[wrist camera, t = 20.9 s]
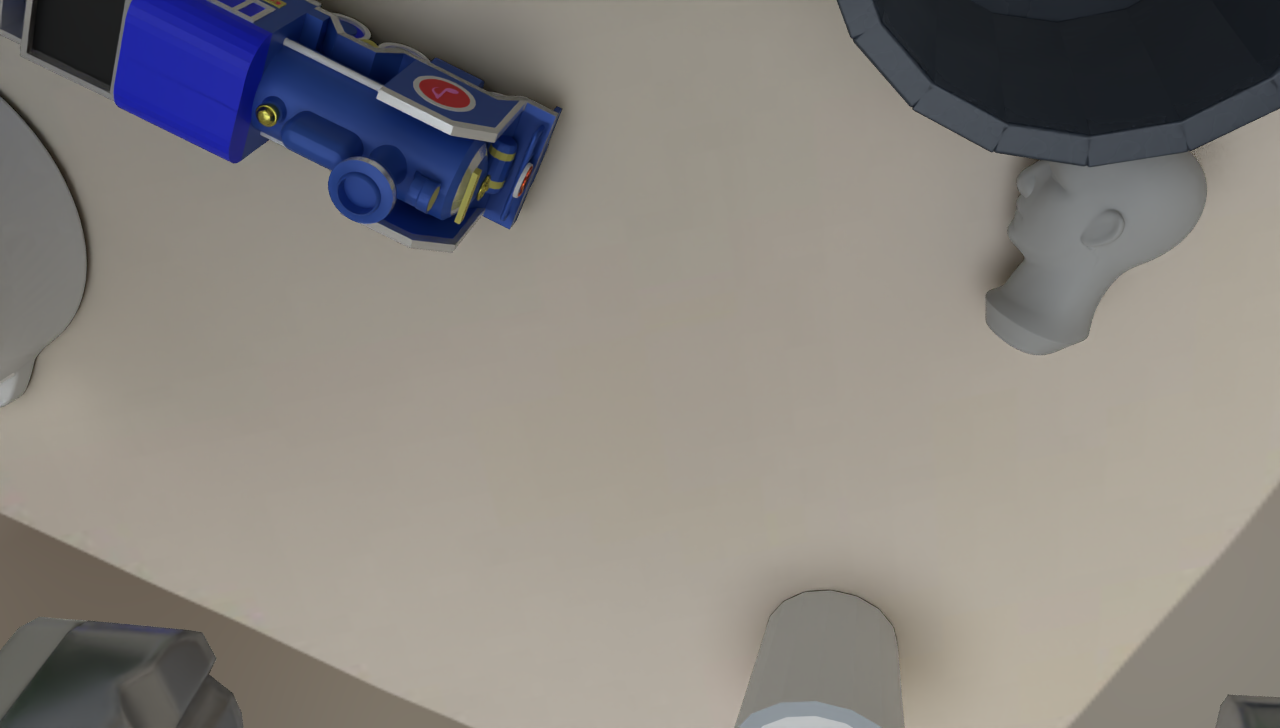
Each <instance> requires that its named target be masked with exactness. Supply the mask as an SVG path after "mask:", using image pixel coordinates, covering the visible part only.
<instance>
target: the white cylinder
mask: <svg viewBox="0 0 1280 728" xmlns="http://www.w3.org/2000/svg"><path fill="white" fill-rule="evenodd" d="M735 728H904V716H903V703H902V691H901V679H900V666H899V654H898V645H897V641H896V636H895V632H894V627H893V626H892V625H891V624H890V622H889V621H888V620H887V619H886V617H885V616H884V615H883V614H882V612H881V611H880V610H879V609H878V608H876V607H874V606H872V605H871V604H869V603H867V602H866V601H864V600H862V599H861V598H859V597H857V596H853V595H849V594H845V593H840V592H836V591H832V590H828V591H814V592H804V593H802V594H800V595H797V596H795V597H793V598H790V599H788V600H786V601H784V602H783V603H782V604H781V605H780V606H779V607H778V608H777V609H776V610H775V611H774V613H773V614H772V615H771V616H770V618H769V621H768V624H767V627H766V631H765V634H764V637H763V640H762V643H761V646H760V649H759V652H758V656H757V659H756V662H755V665H754V668H753V671H752V674H751V677H750V681H749V684H748V687H747V690H746V693H745V696H744V699H743V703H742V706H741V709H740V712H739V715H738V718H737V721H736V724H735Z"/></svg>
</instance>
